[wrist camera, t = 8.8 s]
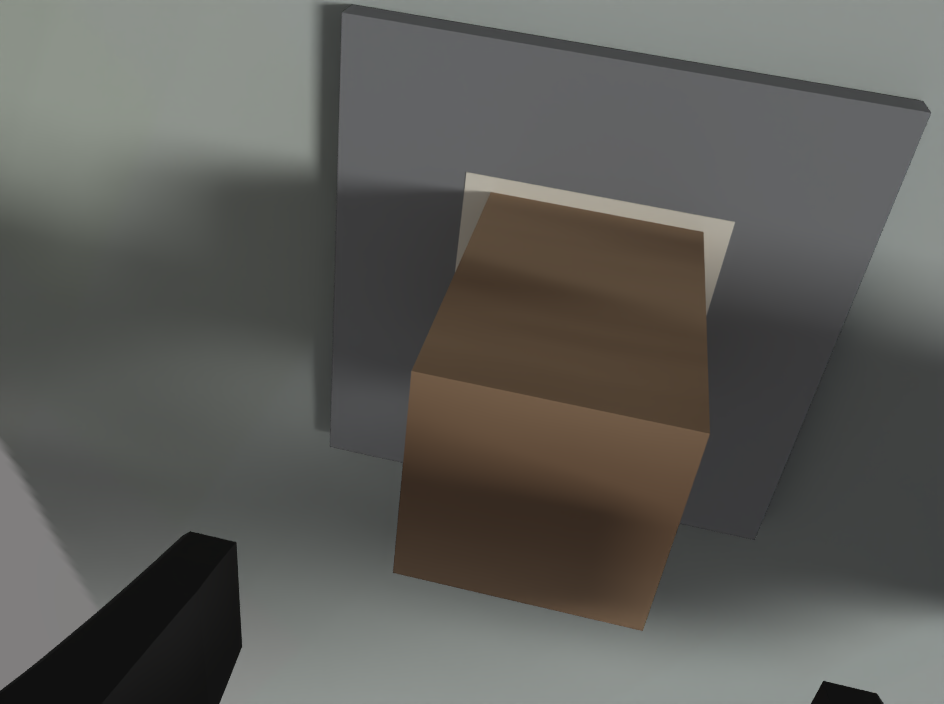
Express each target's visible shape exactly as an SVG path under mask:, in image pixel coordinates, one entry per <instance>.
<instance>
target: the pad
mask: <svg viewBox="0 0 944 704" xmlns="http://www.w3.org/2000/svg"><path fill="white" fill-rule="evenodd" d="M930 114H931V112H930V110H929V109H928V107H927V106H926V104H925V103H924V101H920V100H914V99H908V98H902V97H896V96H890V95H884V94H878V93H872V92H866V91H860V90H855V89H849V88H843V87H837V86H831V85H825V84H819V83H813V82H807V81H801V80H795V79H789V78H784V77H778V76H772V75H766V74H760V73H754V72H748V71H742V70H736V69H730V68H724V67H719V66H713V65H707V64H701V63H695V62H689V61H683V60H677V59H671V58H665V57H659V56H654V55H648V54H642V53H636V52H630V51H624V50H618V49H612V48H606V47H600V46H594V45H588V44H583V43H577V42H571V41H565V40H559V39H553V38H547V37H541V36H535V35H529V34H523V33H518V32H512V31H506V30H500V29H494V28H488V27H482V26H476V25H470V24H464V23H458V22H453V21H447V20H441V19H435V18H429V17H423V16H417V15H411V14H405V13H399V12H393V11H387V10H382V9H376V8H370V7H364V6H358V5H351V6H350V7H348V8H347V9H346V10H345V11H343V12H342V27H341V63H340V100H339V136H338V173H337V210H336V246H335V283H334V319H333V356H332V392H331V429H330V447H334V448H338V449H343V450H347V451H352V452H356V453H361V454H366V455H370V456H375V457H379V458H384V459H388V460H393V461H397V462H402V463H403V458H404V447H405V436H406V425H407V414H408V403H409V392H410V381H411V371H412V369H413V366H414V364H415V362H416V360H417V357H418V355H419V353H420V351H421V348H422V346H423V344H424V342H425V339H426V337H427V335H428V333H429V330H430V328H431V326H432V323H433V321H434V319H435V317H436V314H437V312H438V310H439V308H440V305H441V303H442V301H443V299H444V296H445V294H446V292H447V290H448V287H449V285H450V283H451V281H452V278H453V276H454V274H455V272H456V269H457V267H458V265H459V263H460V260H461V258H462V256H463V254H464V251H465V249H466V247H467V245H468V242H469V240H470V238H471V236H472V233H473V231H474V229H475V227H476V224H477V222H478V220H479V217H480V215H481V213H482V211H483V208H484V206H485V204H486V202H487V199H488V197H489V195H490V193H491V192H495V193H500V194H505V195H510V196H516V197H521V198H526V199H532V200H537V201H542V202H548V203H553V204H558V205H563V206H569V207H574V208H579V209H585V210H590V211H595V212H601V213H606V214H611V215H617V216H622V217H627V218H632V219H638V220H643V221H648V222H654V223H659V224H664V225H670V226H675V227H680V228H686V229H691V230H696V231H701V232H704V262H705V293H706V324H707V355H708V386H709V417H710V435H709V438H708V441H707V444H706V447H705V450H704V453H703V456H702V459H701V462H700V465H699V468H698V470H697V473H696V476H695V479H694V482H693V485H692V488H691V491H690V494H689V497H688V500H687V503H686V506H685V508H684V511H683V514H682V517H681V520H680V524H684V525H689V526H693V527H698V528H702V529H707V530H711V531H716V532H721V533H725V534H730V535H734V536H739V537H743V538H748V539H752V540H755V538H756V536H757V533H758V531H759V528H760V526H761V524H762V521H763V519H764V516H765V514H766V511H767V509H768V507H769V504H770V502H771V499H772V497H773V494H774V492H775V490H776V487H777V485H778V482H779V480H780V478H781V475H782V473H783V470H784V468H785V465H786V463H787V461H788V458H789V456H790V453H791V451H792V448H793V446H794V444H795V441H796V439H797V436H798V434H799V432H800V429H801V427H802V424H803V422H804V419H805V417H806V415H807V412H808V410H809V407H810V405H811V402H812V400H813V398H814V395H815V393H816V390H817V388H818V386H819V383H820V381H821V378H822V376H823V373H824V371H825V369H826V366H827V364H828V361H829V359H830V356H831V354H832V352H833V349H834V347H835V344H836V342H837V340H838V337H839V335H840V332H841V330H842V327H843V325H844V323H845V320H846V318H847V315H848V313H849V311H850V308H851V306H852V303H853V301H854V298H855V296H856V294H857V291H858V289H859V286H860V284H861V281H862V279H863V277H864V274H865V272H866V269H867V267H868V265H869V262H870V260H871V257H872V255H873V252H874V250H875V248H876V245H877V243H878V240H879V238H880V235H881V233H882V231H883V228H884V226H885V223H886V221H887V219H888V216H889V214H890V211H891V209H892V206H893V204H894V202H895V199H896V197H897V194H898V192H899V189H900V187H901V185H902V182H903V180H904V177H905V175H906V173H907V170H908V168H909V165H910V163H911V160H912V158H913V156H914V153H915V151H916V148H917V146H918V143H919V141H920V139H921V136H922V134H923V131H924V129H925V127H926V124H927V122H928V119H929V117H930Z"/></svg>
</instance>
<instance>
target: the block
mask: <svg viewBox="0 0 944 704" xmlns="http://www.w3.org/2000/svg"><path fill="white" fill-rule="evenodd" d="M709 435H710V417H709V386H708V355H707V324H706V293H705V262H704V232H701V231H696V230H691V229H686V228H680V227H675V226H670V225H664V224H659V223H654V222H648V221H643V220H638V219H632V218H627V217H622V216H617V215H611V214H606V213H601V212H595V211H590V210H585V209H579V208H574V207H569V206H563V205H558V204H553V203H548V202H542V201H537V200H532V199H526V198H521V197H516V196H510V195H505V194H500V193H495V192H491V193H490V195H489V197H488V199H487V202H486V204H485V206H484V208H483V211H482V213H481V215H480V217H479V220H478V222H477V224H476V227H475V229H474V231H473V233H472V236H471V238H470V240H469V242H468V245H467V247H466V249H465V251H464V254H463V256H462V258H461V260H460V263H459V265H458V267H457V269H456V272H455V274H454V276H453V278H452V281H451V283H450V285H449V287H448V290H447V292H446V294H445V296H444V299H443V301H442V303H441V305H440V308H439V310H438V312H437V314H436V317H435V319H434V321H433V323H432V326H431V328H430V330H429V333H428V335H427V337H426V339H425V342H424V344H423V346H422V348H421V351H420V353H419V355H418V357H417V360H416V362H415V364H414V366H413V369H412V371H411V381H410V392H409V403H408V414H407V425H406V436H405V447H404V458H403V469H402V480H401V491H400V502H399V513H398V524H397V535H396V546H395V557H394V568H393V573H397V574H401V575H405V576H410V577H414V578H418V579H422V580H427V581H431V582H435V583H440V584H444V585H448V586H452V587H457V588H461V589H465V590H470V591H474V592H478V593H483V594H487V595H491V596H495V597H500V598H504V599H508V600H513V601H517V602H521V603H525V604H530V605H534V606H538V607H543V608H547V609H551V610H555V611H560V612H564V613H568V614H573V615H577V616H581V617H585V618H590V619H594V620H598V621H603V622H607V623H611V624H616V625H620V626H624V627H628V628H633V629H637V630H641V631H643V628H644V626H645V623H646V620H647V617H648V614H649V611H650V608H651V605H652V602H653V599H654V596H655V593H656V590H657V588H658V585H659V582H660V579H661V576H662V573H663V570H664V567H665V564H666V561H667V558H668V555H669V552H670V549H671V547H672V544H673V541H674V538H675V535H676V532H677V529H678V526H679V523H680V520H681V517H682V514H683V511H684V508H685V506H686V503H687V500H688V497H689V494H690V491H691V488H692V485H693V482H694V479H695V476H696V473H697V470H698V468H699V465H700V462H701V459H702V456H703V453H704V450H705V447H706V444H707V441H708V438H709Z"/></svg>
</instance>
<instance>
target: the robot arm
mask: <svg viewBox="0 0 944 704" xmlns="http://www.w3.org/2000/svg"><path fill="white" fill-rule="evenodd" d="M241 648H242V637H241V618H240V600H239V582H238V564H237V545H236V542H233V541H229V540H225V539H220V538H216V537H212V536H208V535H203V534H199V533H195V532H191V531H190V532H189V533H187V534H185V535H183V536H182V537H181V538H180V539H179V540H177V541H176V542H175V543H174V544H173V545H172V546H171V547H170V548H169V549H168V550H166V551H165V552H164V553H163V554H162V555H161V556H160V557H159V558H158V559H157V560H156V561H154V562H153V563H152V564H151V565H150V566H149V567H148V568H147V569H146V570H144V571H143V572H142V573H141V574H140V575H139V576H138V577H137V578H136V579H134V580H133V581H132V582H131V583H130V584H129V585H128V586H127V587H125V588H124V589H123V590H122V591H121V592H120V593H119V594H117V595H116V596H115V597H114V598H113V599H112V600H111V601H109V602H108V603H107V604H106V605H105V606H104V607H103V608H101V609H100V610H99V611H98V612H97V613H96V614H94V615H93V616H92V617H91V618H90V619H89V620H87V621H86V622H85V623H84V624H83V625H81V626H80V627H79V628H78V629H77V630H75V631H74V632H73V633H72V634H71V635H70V636H68V637H67V638H66V639H65V640H63V641H62V642H61V643H60V644H59V645H57V646H56V647H55V648H54V649H53V650H51V651H50V652H49V653H48V654H47V655H45V656H44V657H43V658H42V659H40V660H39V661H38V662H37V663H35V664H34V665H33V666H32V667H30V668H29V669H28V670H27V671H25V672H24V673H23V674H21V675H20V676H19V677H18V678H16V679H15V680H14V681H12V682H11V683H10V684H8V685H7V686H6V687H4V688H3V689H2V690H1V691H0V704H219V703H220V701H221V698H222V696H223V693H224V691H225V688H226V686H227V683H228V681H229V678H230V676H231V673H232V671H233V668H234V666H235V663H236V661H237V658H238V655H239V653H240V650H241ZM811 704H883V702H882V700H881V699H880V697H879V696H878V694H877V693H872V692H868V691H864V690H860V689H855V688H851V687H847V686H843V685H839V684H834V683H830V682H826V681H823V683H822V684H821V686H820V688H819V690H818V692H817V694H816V695H815V697H814V699H813V701H812V703H811Z"/></svg>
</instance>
